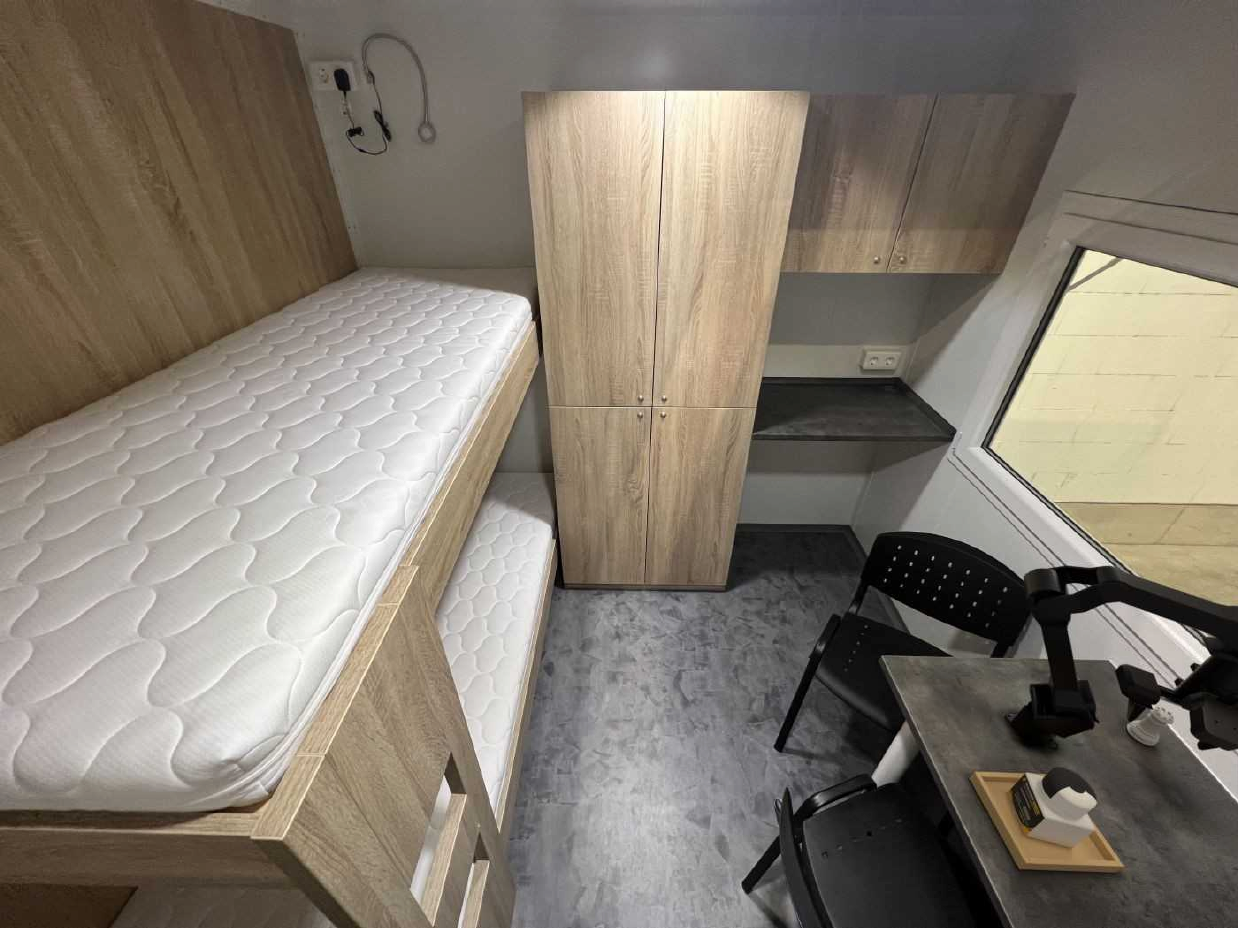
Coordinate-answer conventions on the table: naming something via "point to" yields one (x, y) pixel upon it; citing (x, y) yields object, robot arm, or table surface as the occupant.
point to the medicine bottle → (1054, 806)
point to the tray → (1036, 852)
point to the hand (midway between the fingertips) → (1163, 733)
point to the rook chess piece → (1150, 726)
